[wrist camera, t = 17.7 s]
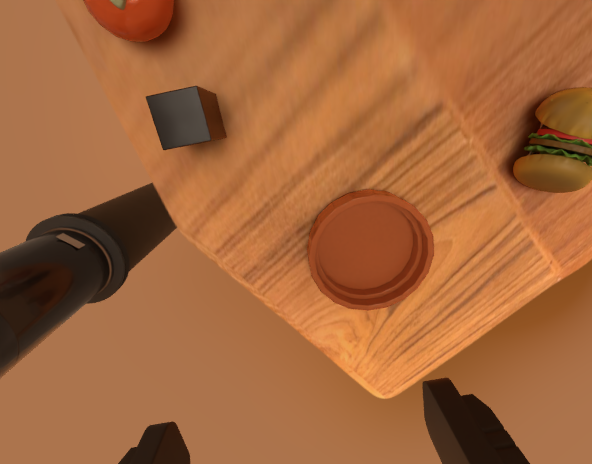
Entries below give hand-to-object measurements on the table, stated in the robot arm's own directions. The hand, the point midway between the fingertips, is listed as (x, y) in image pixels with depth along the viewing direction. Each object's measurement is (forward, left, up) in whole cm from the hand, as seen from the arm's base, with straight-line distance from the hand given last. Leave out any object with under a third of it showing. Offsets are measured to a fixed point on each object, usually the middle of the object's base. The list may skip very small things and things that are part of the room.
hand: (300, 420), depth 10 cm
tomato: (-10, +22, -28) cm, 37 cm away
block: (-8, +11, -28) cm, 31 cm away
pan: (+8, -7, -28) cm, 30 cm away
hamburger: (+27, -3, -25) cm, 37 cm away
